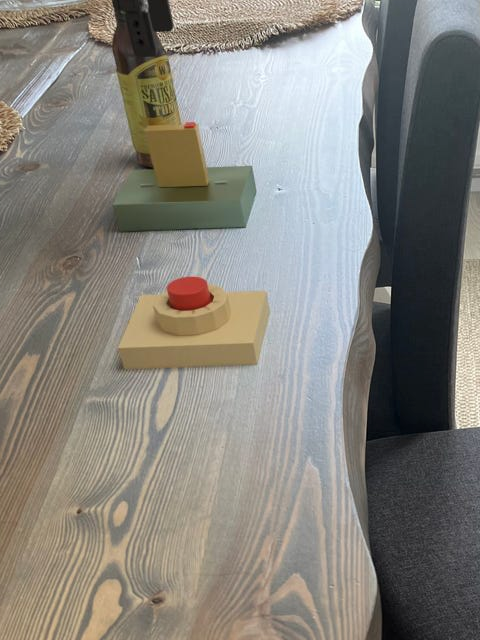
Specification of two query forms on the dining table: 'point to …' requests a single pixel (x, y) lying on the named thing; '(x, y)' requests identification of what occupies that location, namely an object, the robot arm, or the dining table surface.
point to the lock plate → (186, 201)
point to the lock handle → (177, 155)
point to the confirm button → (188, 293)
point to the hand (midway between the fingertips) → (155, 43)
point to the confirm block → (196, 331)
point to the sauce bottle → (143, 88)
